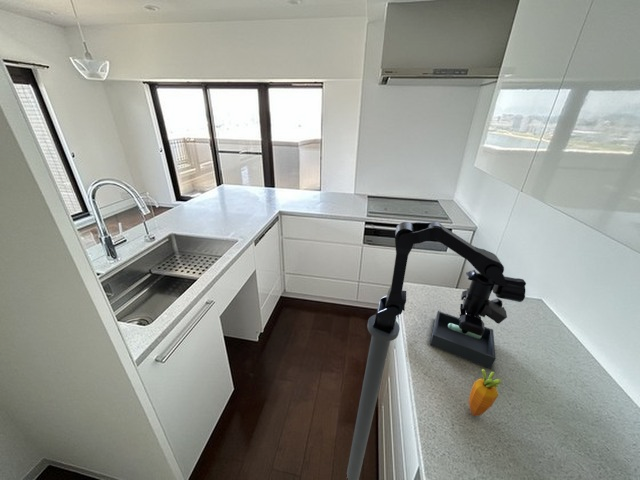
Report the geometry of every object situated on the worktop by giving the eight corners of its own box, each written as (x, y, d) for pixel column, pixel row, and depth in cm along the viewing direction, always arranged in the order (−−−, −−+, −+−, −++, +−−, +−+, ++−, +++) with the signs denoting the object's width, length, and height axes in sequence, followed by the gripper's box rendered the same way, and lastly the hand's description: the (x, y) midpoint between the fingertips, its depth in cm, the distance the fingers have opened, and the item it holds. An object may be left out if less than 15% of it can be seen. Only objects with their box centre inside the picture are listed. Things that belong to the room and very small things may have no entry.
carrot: (458, 405, 67) (475, 366, 61) (475, 404, 68) (495, 365, 61) (469, 425, 63) (490, 385, 56) (488, 424, 63) (510, 384, 57)
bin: (429, 345, 85) (433, 334, 83) (434, 320, 96) (437, 310, 94) (490, 369, 78) (495, 358, 76) (488, 339, 89) (493, 329, 87)
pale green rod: (446, 329, 86) (448, 324, 86) (447, 325, 88) (448, 321, 87) (480, 341, 82) (482, 336, 81) (480, 337, 84) (482, 332, 83)
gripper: (514, 321, 67) (494, 362, 74) (506, 285, 82) (490, 322, 89) (467, 306, 72) (452, 346, 78) (468, 275, 87) (455, 311, 93)
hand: (464, 330), depth 85 cm, fingers closed on pale green rod, 2 cm apart
